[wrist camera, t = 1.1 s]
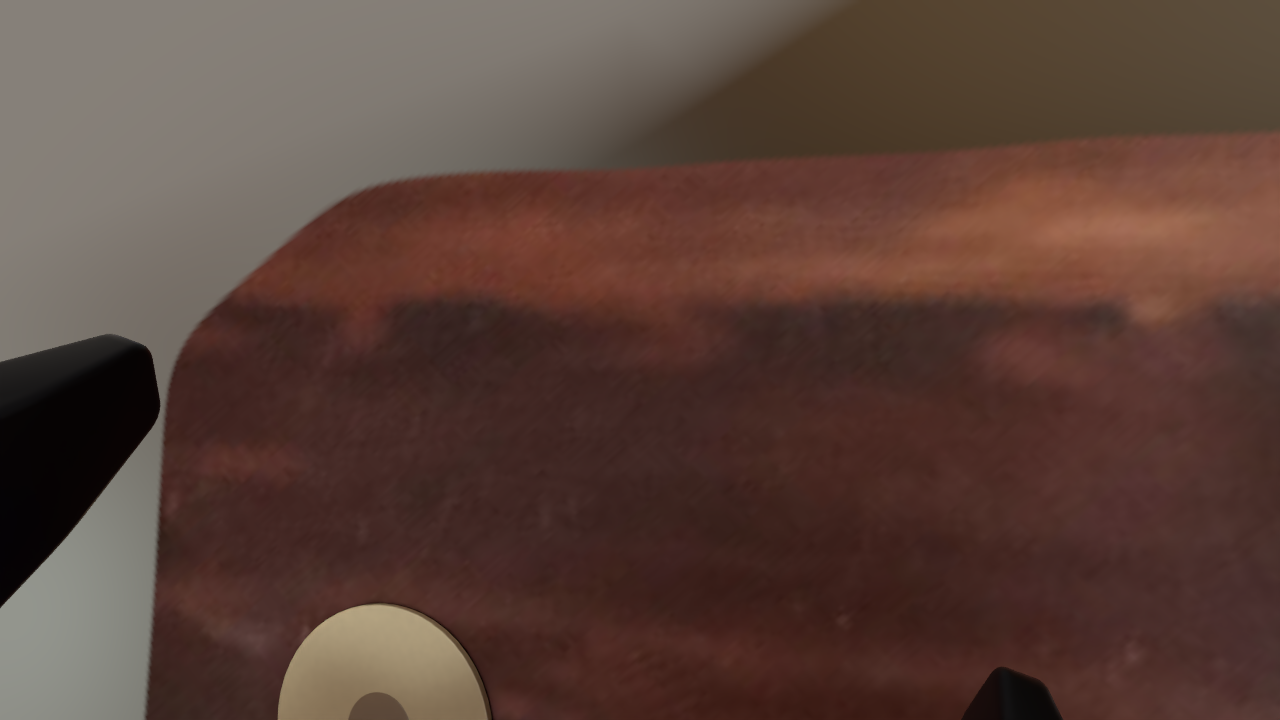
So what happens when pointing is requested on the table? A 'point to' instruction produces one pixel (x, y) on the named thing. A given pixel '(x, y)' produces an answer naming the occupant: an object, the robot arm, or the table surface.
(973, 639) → the table surface
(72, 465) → the robot arm
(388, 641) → the coaster
